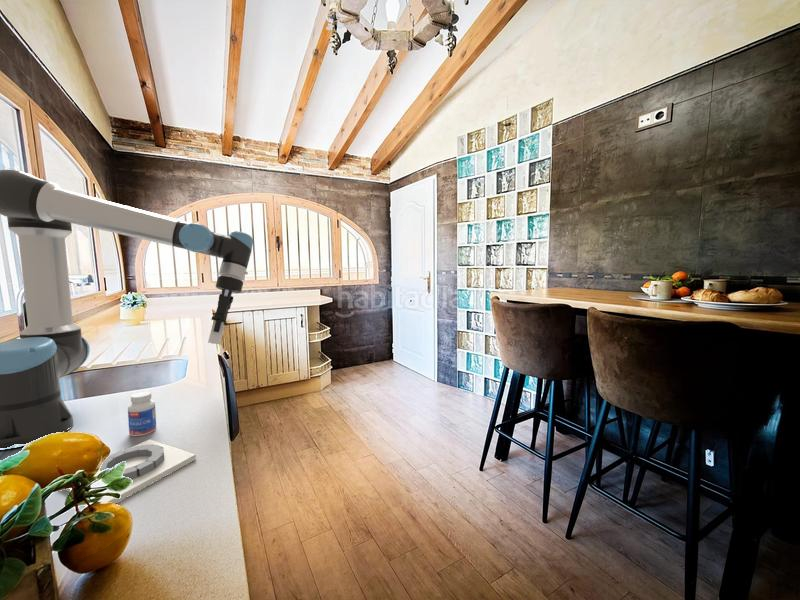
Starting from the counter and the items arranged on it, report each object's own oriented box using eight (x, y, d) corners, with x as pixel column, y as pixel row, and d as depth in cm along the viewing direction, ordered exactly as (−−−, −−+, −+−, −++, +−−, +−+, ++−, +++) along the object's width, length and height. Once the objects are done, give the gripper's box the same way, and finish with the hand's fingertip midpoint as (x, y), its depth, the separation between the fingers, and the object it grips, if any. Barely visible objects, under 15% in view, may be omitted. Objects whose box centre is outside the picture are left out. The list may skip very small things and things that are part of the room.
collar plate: (57, 485, 62) (55, 472, 61) (150, 444, 76) (149, 433, 76) (104, 510, 55) (103, 495, 55) (195, 459, 70) (195, 447, 70)
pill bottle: (126, 439, 78) (123, 400, 78) (132, 429, 83) (129, 392, 82) (155, 433, 81) (152, 395, 80) (158, 424, 86) (155, 388, 85)
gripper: (244, 273, 96) (227, 345, 92) (242, 287, 118) (228, 345, 114) (216, 267, 93) (196, 340, 89) (219, 282, 115) (203, 342, 111)
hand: (214, 343), depth 101 cm, fingers open, 13 cm apart
